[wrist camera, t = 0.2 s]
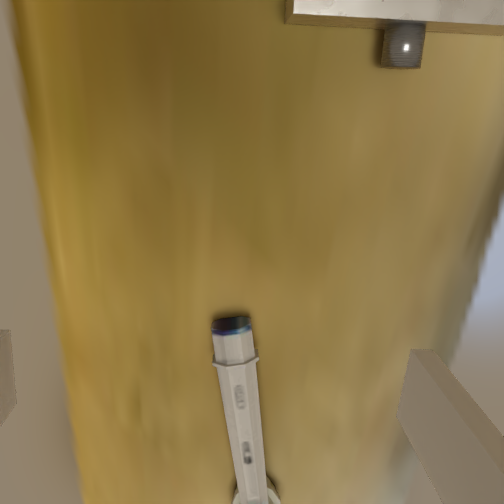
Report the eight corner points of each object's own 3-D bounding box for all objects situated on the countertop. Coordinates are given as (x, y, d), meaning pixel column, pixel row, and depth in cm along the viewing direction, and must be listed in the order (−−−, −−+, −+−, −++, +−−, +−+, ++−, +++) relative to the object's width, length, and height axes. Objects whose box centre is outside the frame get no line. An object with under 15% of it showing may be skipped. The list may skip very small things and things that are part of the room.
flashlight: (260, 327, 42) (288, 564, 46) (256, 305, 48) (281, 515, 53) (201, 334, 42) (236, 571, 46) (206, 311, 48) (235, 521, 53)
